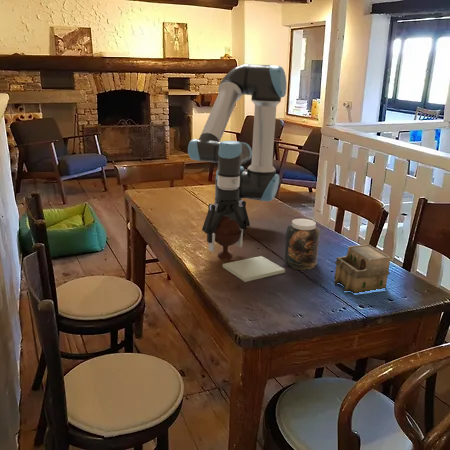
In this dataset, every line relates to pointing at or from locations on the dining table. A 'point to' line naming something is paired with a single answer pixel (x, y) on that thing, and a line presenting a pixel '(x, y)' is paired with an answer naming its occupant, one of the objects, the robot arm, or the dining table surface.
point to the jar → (301, 244)
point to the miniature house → (362, 269)
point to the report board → (253, 268)
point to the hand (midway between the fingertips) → (225, 248)
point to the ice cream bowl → (227, 235)
